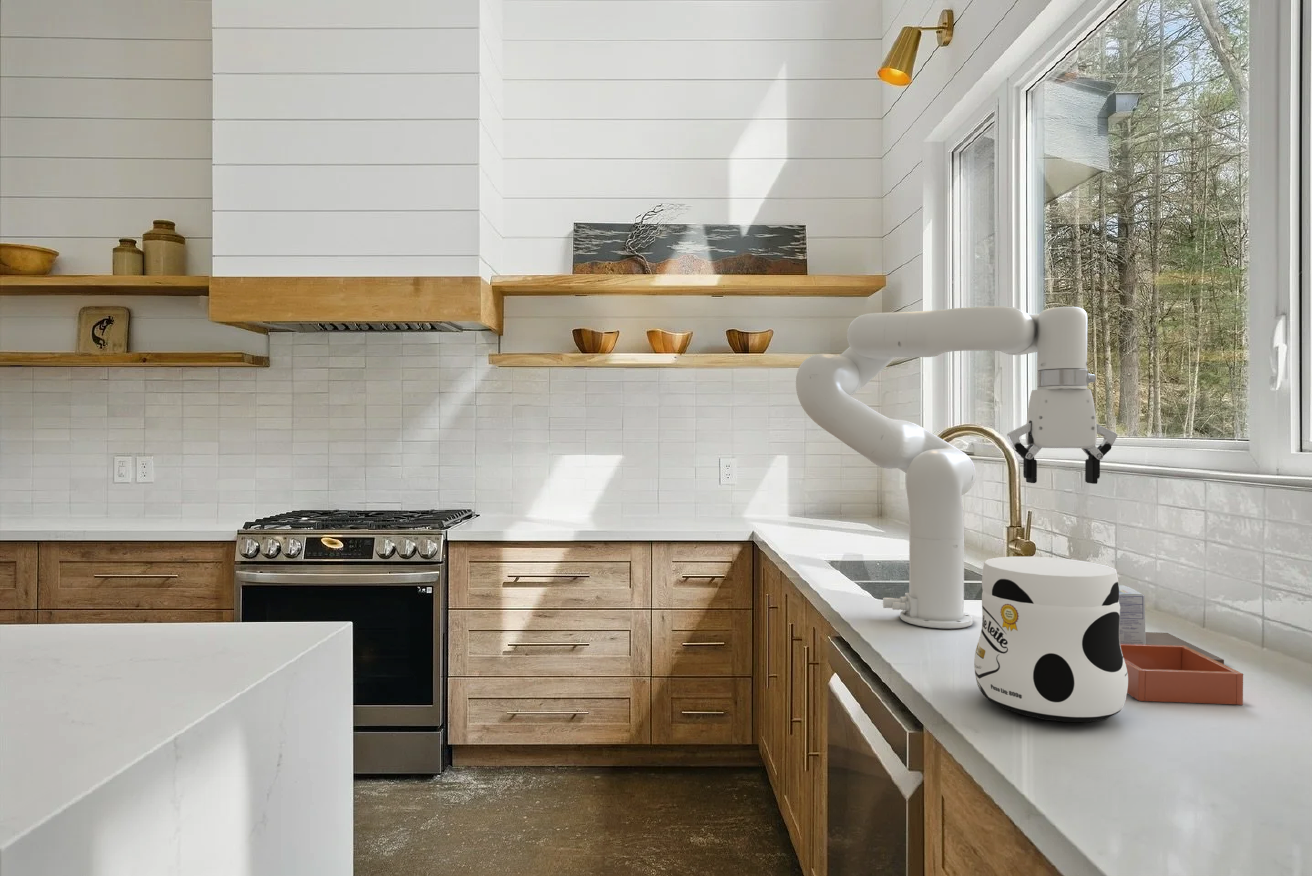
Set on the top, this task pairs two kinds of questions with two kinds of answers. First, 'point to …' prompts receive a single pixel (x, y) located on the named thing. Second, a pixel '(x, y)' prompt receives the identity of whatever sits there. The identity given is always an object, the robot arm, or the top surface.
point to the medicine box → (1131, 616)
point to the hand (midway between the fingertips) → (1061, 482)
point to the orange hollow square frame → (1179, 675)
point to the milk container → (1051, 638)
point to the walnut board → (1175, 643)
